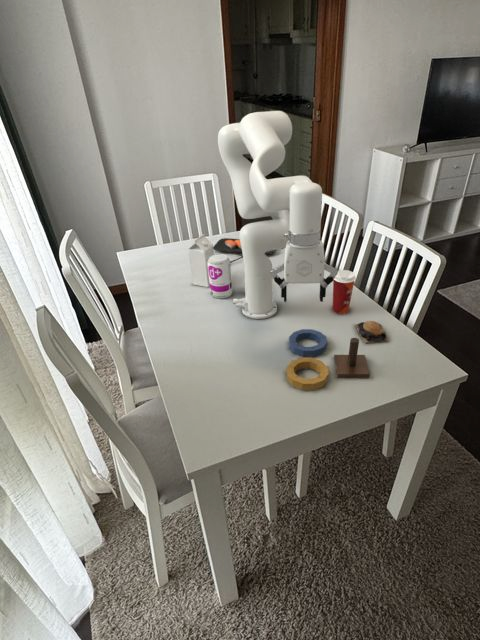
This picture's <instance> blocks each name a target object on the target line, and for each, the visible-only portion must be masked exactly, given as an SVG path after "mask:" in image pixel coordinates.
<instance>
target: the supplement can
mask: <svg viewBox="0 0 480 640" xmlns="http://www.w3.org/2000/svg"><path fill="white" fill-rule="evenodd" d="M230 261H231V259H230V258H229V256H228V255H227V254H225V253H214V255H211V256H210V257H209V260H208V262H207V263H208V272H209V282H210V286H209V289H210V291H209V292H210V295H211V296H212V297H213V298H215V299H226V298H229V297H230V296H231V295H232V294H233V282H232V270H231V267H232V266H231V263H230Z"/></svg>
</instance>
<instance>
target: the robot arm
mask: <svg viewBox="0 0 480 640" xmlns="http://www.w3.org/2000/svg"><path fill="white" fill-rule="evenodd" d="M292 135H293V124H292V121H291V119H290V117H289V115H288V113H286V112H284V111H283V110H269V111H256V112H251V113H248V114H246V115H245V116H243V117H242V118H241V121H239V122H233V123H229V124H226V125H224V126H222V127H221V128H220V130H219V131H218V133H217V146H218V151H219V155H220V157H221V160H222V163H223V165H224V167H225V168H226V171H227V172H228V175H229V177H230V180H231V185H232V190H233V194H234V199H235V203H236V208H237V212H238V214H239V216H240V217H241V218H242V219H245V220H253V219H254V220H255V219H261V218H265V217H266V218H267V217H271V218H272V219H269V220H260V221H255V222H250V223H247V224H244V225H243V226H242V227H241V228H240V230H239V234H238V236H239V238H238V239H240V243H241V248H242V253H241V254H242V256H243V258H242V259H243V260H242V261H243V274H244V276H243V277H244V293H245V296H244V297H242V298H233V300H232V302H233V305H235V306H236V308H241V312H242V314H243V315H245V316H246V317H247V318H250V319H255V320H263V319H268V318H271V317H273V316H274V315H275V314H276V313H277V312H278V306H277V304H276V303H275V302H274V301H273V299H274V298H273V297H274V295H273V293H274V292H273V281H274V282H275V283H276V285H278V286H279V288H280V297H281V299H283V302H284V303H286V302H287V300H288V299H287V296H288V295H287V290H288V289H287V287H288V286H287V285H289V284H319V302H321V303H323V302H324V298H326V296H327V294H326V293H327V288H328V286H329V285H331V284H332V283H333V280H334V278H335V277H336V275H337V273H338V271H339V270H338V268H336V267H334V266H331V265H329V264H327V263H325V248H324V247H325V246H324V243H323V241H322V240H321V228H322V227H321V226H322V207H323V205H322V204H323V189H322V186H321V185H320V184H319V183H316V182H313V181H312V180H311V179H310V178H309V177H308V176H307V175H294V176H285V177H284V176H283V177H275V178H269V179H268V178H266V177H267V176H268V175H270V174H271V173H273V172H274V171H276V170H277V169H279V167H280V166H281V165H282V164H283V162H284V161H285V157H286V147H285V146H286V145H287V144H288V143H289V142H290V141H291V139H292ZM243 155H250V156H251V159H252V160H253V161H252V162H251V161H250V160H248V159H247V158H246V157H245V156H243ZM282 249H285V250H284V260H283V263H282V264H280V265H277V266H276V267H274V268H273V263H272V261H271V259H270V258H269V257H268V256H267V254H265V252H268V251H272V250H275V251H277V250H282ZM325 271H326V272H328V273H329V275H328V276H327V277H326V278H325ZM281 272H283V277H282V278H281V277H280V276H279V275H278V274H279V273H281Z"/></svg>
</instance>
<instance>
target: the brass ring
mask: <svg viewBox="0 0 480 640" xmlns="http://www.w3.org/2000/svg"><path fill="white" fill-rule="evenodd" d="M302 369H310V370H314V371H316V372H317V373H318V374H319V375H318V376H316V377H314V378H305V377H300V376H298V375H297V373H296V372H297V371H299V370H302ZM329 375H330V372H329V367H328V365H327V364H325V362H323V361H322V360H320V359H317V358H315V357H299V358H297V359H293V360H291V361H290V362H289V363H288V364H287V366H286V381H287V382H288V383H289V384H290V385H291V386H292V387H293V388H295V389H298V390H301V391H316V390H319V389H321V388H324V387H325V385H326V384H327V383H328V381H329Z"/></svg>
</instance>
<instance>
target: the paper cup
mask: <svg viewBox="0 0 480 640" xmlns="http://www.w3.org/2000/svg"><path fill="white" fill-rule="evenodd" d="M355 281H356V275H355V273H354V272H353V271H351V270H348V269H340V270H338V273H337V275H336V277H335V278H334V280H333V281H332V283H333V284H332V286H333V287H332V311H333V313H335V314H338V315H345V314H347V313H349V311H350V305H351V301H352V295H353V291H354V290H353V289H354V284H355Z"/></svg>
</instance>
